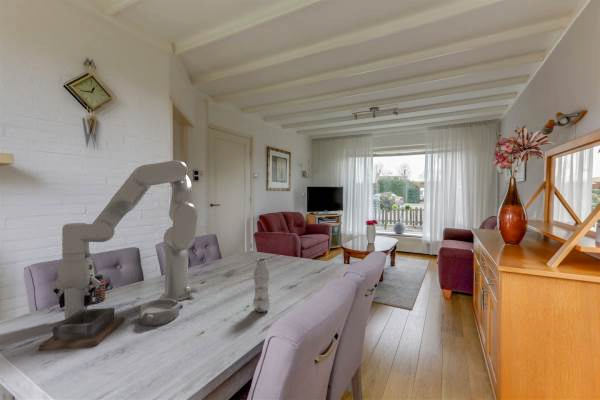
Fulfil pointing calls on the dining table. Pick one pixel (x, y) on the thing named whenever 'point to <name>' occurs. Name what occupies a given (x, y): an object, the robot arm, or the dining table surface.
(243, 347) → the dining table surface
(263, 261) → the plastic bottle
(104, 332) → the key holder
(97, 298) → the supplement bottle
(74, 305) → the skincare box
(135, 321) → the dining table surface
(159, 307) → the dish
